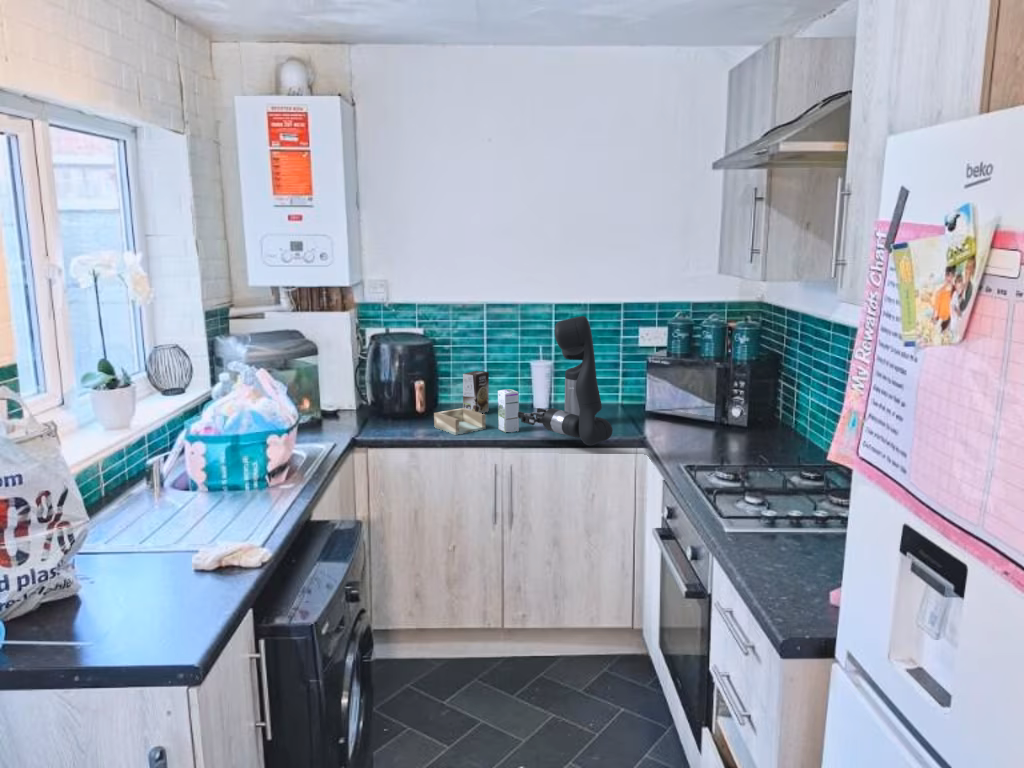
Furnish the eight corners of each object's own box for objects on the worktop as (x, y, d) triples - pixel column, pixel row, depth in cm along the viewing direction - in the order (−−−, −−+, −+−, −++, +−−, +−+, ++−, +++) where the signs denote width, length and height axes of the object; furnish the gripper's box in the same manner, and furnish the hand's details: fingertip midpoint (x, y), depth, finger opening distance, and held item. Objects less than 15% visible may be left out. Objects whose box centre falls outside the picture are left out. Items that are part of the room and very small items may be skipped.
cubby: (463, 422, 284) (463, 407, 283) (485, 429, 274) (485, 414, 273) (434, 427, 276) (434, 412, 275) (455, 435, 266) (455, 419, 265)
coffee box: (475, 416, 294) (475, 375, 290) (462, 414, 297) (462, 373, 294) (489, 411, 301) (489, 371, 298) (476, 409, 305) (475, 370, 301)
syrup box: (519, 431, 272) (519, 391, 269) (504, 433, 269) (504, 393, 266) (511, 427, 276) (512, 388, 274) (497, 429, 274) (497, 390, 271)
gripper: (576, 407, 254) (543, 399, 266) (543, 413, 245) (512, 404, 258) (575, 429, 255) (543, 420, 268) (543, 436, 247) (512, 426, 259)
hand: (528, 412), depth 263 cm, fingers open, 8 cm apart
